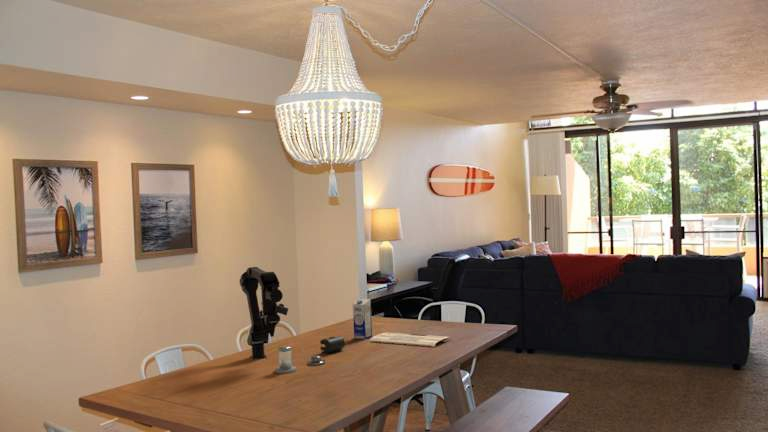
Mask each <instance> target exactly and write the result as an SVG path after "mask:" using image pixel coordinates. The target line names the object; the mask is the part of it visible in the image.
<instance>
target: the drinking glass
mask: <svg viewBox="0 0 768 432" xmlns="http://www.w3.org/2000/svg"><path fill="white" fill-rule="evenodd" d="M278 363H279V366H278V367H280V370H288V369H291V368H292V366H293V364H292V363H293V362H292V347H291V346H290V345H283V346H279V347H278Z"/></svg>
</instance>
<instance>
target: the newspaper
mask: <svg viewBox="0 0 768 432" xmlns="http://www.w3.org/2000/svg"><path fill="white" fill-rule="evenodd" d="M441 341H444V342H446V343H447V342H449V341H452V337H451V336H445V335H443V336H442V335H429V334H415V333H414V334H413V333H403V332H402V333H400V332H387V331H386V332H382V333H378V334H377V335H374V336H372V337H371V338H369V342H370V343H379V342H381V343H382V344H392V343H393V345H404V344H406V345H407V346H416V345H417V346H418V347H419V346H420V347H429V346H430V347H431V348H436V344H437V343H439V342H441ZM430 347H429V348H430Z"/></svg>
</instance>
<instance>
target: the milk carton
mask: <svg viewBox="0 0 768 432" xmlns="http://www.w3.org/2000/svg"><path fill="white" fill-rule="evenodd" d="M371 302H372V301H371V299H370V298H367V299H366V298H359V299H357V300H356V301H354V302H353V303H352V318H353V319H352V320H353V334H354V335H353V336H354V337H353V339H354V340H355V339H356V340H363V339H366V340H367V339H371V338H372V337H373V328H372V327H373V325H372V308H371V307H372V305H371V304H372V303H371ZM370 337H371V338H370Z"/></svg>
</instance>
